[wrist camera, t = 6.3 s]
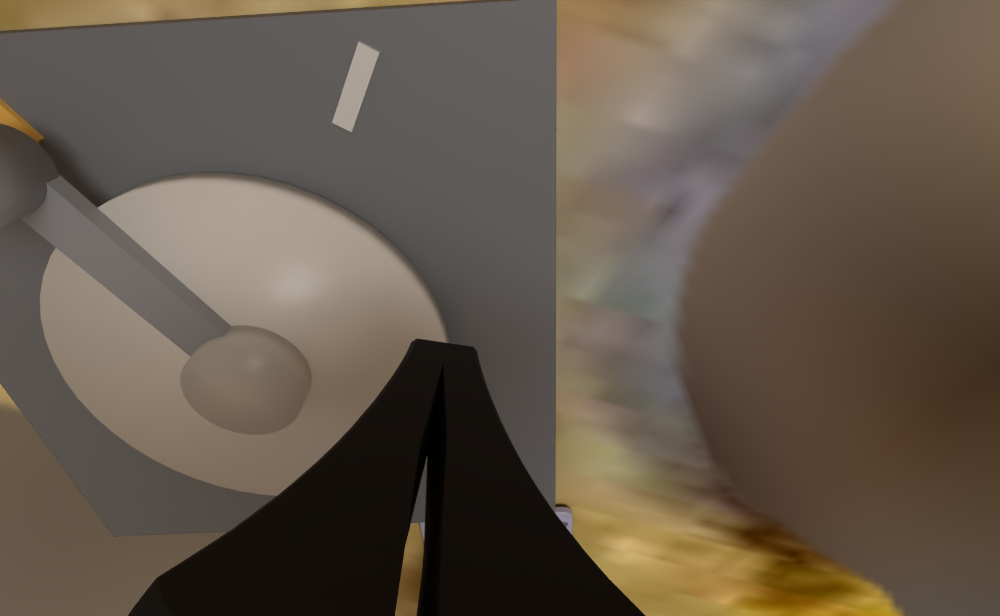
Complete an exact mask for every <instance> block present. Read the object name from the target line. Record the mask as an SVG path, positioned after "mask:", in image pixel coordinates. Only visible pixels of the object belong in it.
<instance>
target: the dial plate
mask: <svg viewBox="0 0 1000 616" xmlns="http://www.w3.org/2000/svg"><path fill="white" fill-rule="evenodd" d="M0 124H4V125H8V126H10V127H13V128H15V129H17V130H20V131H21V132H23V133H25V134H26V135H28V136H29V137H31V138H32V139H33V140H35V141H36V142H37V143H38V144H39V145H40V146H41V147H42V148H43V149H44V150H45V151H46V152H47V154H48V155H49V156H50V158H51V159H52V161H53V163H54V165H55V167H56V169H57V172H58V174H60V175H61V176H62V177H63V178H64V179H65V180H66V181H67V182H69V183H70V184H71V185H72V186H73V187H74V188H75V189H77V190H78V191H79V192H80V193H81V194H82V195H83V196H84V197H86V198H87V199H88V200H89V201H90V202H91V203H92V204H94V205H95V206H96V207H97V208H98V207H99V206H101V205H102V204H104V203H106V202H107V201H109V200H111V199H112V198H114V197H116V196H117V195H119V194H121V193H123V192H125V191H127V190H130V189H132V188H134V187H136V186H139V185H141V184H143V183H146V182H150V181H154V180H157V179H161V178H165V177H168V176H175V175H183V174H191V173H233V174H241V175H249V176H256V177H262V178H266V179H270V180H274V181H277V182H281V183H285V184H289V185H292V186H295V187H298V188H300V189H303V190H306V191H308V192H311V193H313V194H316V195H319V196H321V197H323V198H325V199H327V200H329V201H331V202H333V203H335V204H337V205H339V206H341V207H343V208H345V209H347V210H348V211H350V212H351V213H353V214H354V215H356V216H357V217H359V218H360V219H362V220H363V221H365V222H366V223H368V224H369V225H371V226H372V227H373V228H375V229H376V230H377V231H378V232H379V233H381V234H382V235H383V236H384V237H385V238H387V239H388V240H389V241H390V242H392V243H393V244H394V245H395V246H396V247H397V248H398V249H399V251H400V252H401V253H402V254H403V255H404V256H405V257H406V258H407V259H408V260H409V261H410V262H411V263H412V264H413V266H414V267H415V268H416V270H417V271H418V273H419V274H420V275H421V277H422V278H423V279H424V281H425V282H426V283H427V285H428V287H429V289H430V291H431V292H432V294H433V296H434V298H435V300H436V302H437V303H438V306H439V308H440V311H441V314H442V316H443V319H444V322H445V324H446V329H447V333H448V338H449V343H451V344H458V345H465V346H471V347H474V348H475V350H476V351H477V353H478V358H479V362H480V366H481V370H482V373H483V376H484V379H485V382H486V385H487V388H488V390H489V393H490V396H491V398H492V401H493V403H494V405H495V408H496V410H497V412H498V415H499V417H500V419H501V422H502V424H503V426H504V428H505V430H506V432H507V434H508V436H509V438H510V440H511V442H512V444H513V446H514V448H515V450H516V452H517V454H518V455H519V457H520V459H521V461H522V463H523V464H524V466H525V468H526V469H527V471H528V473H529V474H530V476H531V478H532V479H533V481H534V482H535V484H536V486H537V487H538V489H539V490H540V492H541V493H542V495H543V496H544V498H545V499H546V501H547V502H548V504H549V505H550V506H551V508H552V509H553V511H554V512H555V417H556V0H474V1H459V2H443V3H428V4H412V5H396V6H381V7H365V8H350V9H334V10H319V11H303V12H288V13H272V14H257V15H241V16H226V17H210V18H195V19H179V20H164V21H148V22H133V23H117V24H102V25H86V26H71V27H55V28H40V29H24V30H9V31H0ZM55 248H56V247H55V246H53V245H52V244H51V243H50V242H48V241H47V240H46V239H45V238H44V237H42V236H41V235H40V234H39V233H37V232H36V231H35V230H34V229H32V228H31V227H30V226H29V225H28V224H26V223H25V222H24V221H23V220H21V219H20V218H19V219H17V220H15V221H13V222H11V223H10V224H8V225H6V226H4V227H2V228H0V384H1V385H2V386H3V388H4V389H5V390H6V392H7V393H8V394H9V396H10V397H11V398H12V400H13V401H14V402H15V404H16V405H17V407H18V408H19V409H20V411H21V412H22V413H23V415H24V416H25V417H26V419H27V420H28V421H29V423H30V424H31V425H32V427H33V428H34V429H35V431H36V432H37V433H38V435H39V436H40V438H41V439H42V440H43V442H44V443H45V444H46V446H47V447H48V448H49V450H50V451H51V452H52V453H53V455H54V456H55V458H56V459H57V461H58V462H59V463H60V465H61V466H62V467H63V468H64V470H65V471H66V473H67V474H68V475H69V477H70V478H71V479H72V481H73V482H74V483H75V485H76V486H77V488H78V489H79V490H80V492H81V493H82V494H83V496H84V497H85V498H86V500H87V501H88V502H89V504H90V505H91V506H92V508H93V509H94V510H95V512H96V513H97V515H98V516H99V517H100V519H101V520H102V521H103V523H104V524H105V525H106V526H107V528H108V529H109V531H110V532H111V533H112V535H113V536H115V537H116V536H136V535H156V534H157V535H159V534H181V533H202V532H223V531H230V530H232V529H233V528H234V527H236V526H237V525H238V524H240V523H241V522H242V521H244V520H245V519H247V518H248V517H249V516H251V515H252V514H253V513H255V512H256V511H257V510H259V509H260V508H261V507H263V506H264V505H265V504H267V503H268V502H269V501H271V500H272V499H273V498H275V497H276V496H273V495H261V494H255V493H248V492H242V491H237V490H233V489H229V488H224V487H220V486H216V485H213V484H210V483H207V482H204V481H201V480H198V479H195V478H192V477H190V476H187V475H185V474H183V473H180V472H178V471H175V470H173V469H171V468H169V467H167V466H165V465H163V464H161V463H159V462H157V461H155V460H153V459H151V458H150V457H148V456H146V455H145V454H143V453H141V452H140V451H138V450H137V449H135V448H133V447H132V446H130V445H129V444H128V443H126V442H125V441H123V440H122V439H121V438H119V437H118V436H117V435H115V434H114V433H113V432H111V431H110V430H109V429H108V428H107V427H106V426H105V425H104V424H102V423H101V422H100V421H99V420H98V419H97V418H96V417H95V416H94V415H93V414H92V413H91V412H90V411H89V410H88V409H87V408H86V407H85V406H84V405H83V403H82V402H81V401H80V400H79V399H78V398H77V396H76V395H75V394H74V392H73V391H72V390H71V388H70V387H69V386H68V384H67V383H66V381H65V380H64V378H63V377H62V375H61V373H60V371H59V369H58V368H57V366H56V364H55V362H54V360H53V358H52V355H51V353H50V350H49V348H48V345H47V343H46V340H45V336H44V331H43V327H42V322H41V314H40V292H41V286H42V279H43V275H44V272H45V269H46V267H47V264H48V261H49V259H50V256H51V254H52V253H53V251H54V250H55ZM426 477H427V458H426V462H425V466H424V471H423V475H422V479H421V483H420V487H419V491H418V495H417V499H416V503H415V507H414V512H413V516H412V520H411V523H419V522H425V504H426Z"/></svg>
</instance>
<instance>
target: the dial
mask: <svg viewBox="0 0 1000 616" xmlns="http://www.w3.org/2000/svg"><path fill="white" fill-rule="evenodd" d="M19 218H20V219H21V220H23V221H24V222H25V223H26V224H28V225H29V226H30V227H31V228H32V229H34V230H35V231H36V232H37V233H39V234H40V235H41V236H42V237H44V238H45V239H46V240H47V241H48V242H50V243H51V244H52V245H53V246H55V247H56V248H55V250H54V251H53V253H52V254H51V256H50V259H49V261H48V264H47V267H46V269H45V272H44V275H43V279H42V286H41V292H40V314H41V322H42V327H43V331H44V336H45V340H46V343H47V345H48V348H49V350H50V353H51V355H52V358H53V360H54V362H55V364H56V366H57V368H58V369H59V371H60V373H61V375H62V377H63V378H64V380H65V381H66V383H67V384H68V386H69V387H70V388H71V390H72V391H73V392H74V394H75V395H76V396H77V398H78V399H79V400H80V401H81V402H82V403H83V405H84V406H85V407H86V408H87V409H88V410H89V411H90V412H91V413H92V414H93V415H94V416H95V417H96V418H97V419H98V420H99V421H100V422H101V423H102V424H104V425H105V426H106V427H107V428H108V429H109V430H110V431H111V432H113V433H114V434H115V435H117V436H118V437H119V438H121V439H122V440H123V441H125V442H126V443H128V444H129V445H130V446H132V447H133V448H135V449H137V450H138V451H140V452H141V453H143V454H145V455H146V456H148V457H150V458H151V459H153V460H155V461H157V462H159V463H161V464H163V465H165V466H167V467H169V468H171V469H173V470H175V471H178V472H180V473H183V474H185V475H187V476H190V477H192V478H195V479H198V480H201V481H204V482H207V483H210V484H213V485H216V486H220V487H224V488H229V489H233V490H237V491H242V492H248V493H255V494H261V495H273V496H277V495H279V494H280V493H281V492H282V491H284V490H285V489H286V488H287V487H288V486H290V485H291V484H292V483H293V482H294V481H295V480H297V479H298V478H299V477H300V476H301V475H302V474H303V473H305V472H306V471H307V470H308V469H309V468H310V467H311V466H313V465H314V464H315V463H316V462H317V461H318V460H319V459H320V458H321V457H322V456H323V455H324V454H325V453H326V452H328V451H329V450H330V449H331V448H332V447H333V446H334V445H335V444H336V443H337V442H338V441H339V440H340V439H341V438H342V437H343V435H344V434H345V433H346V432H347V431H348V430H349V429H350V428H351V427H352V426H353V425H354V423H355V422H356V421H357V420H358V419H359V418H360V416H361V415H362V414H363V413H364V412H365V411H366V409H367V408H368V407H369V406H370V405H371V404H372V402H373V401H374V400H375V399H376V397H377V396H378V395H379V393H380V392H381V391H382V389H383V388H384V387H385V385H386V384H387V383H388V381H389V380H390V378H391V377H392V376H393V374H394V373H395V371H396V370H397V368H398V366H399V365H400V363H401V362H402V360H403V358H404V356H405V355H406V353H407V351H408V349H409V346H410V344H411V342H412V341H414V340H415V339H424V340H431V341H438V342H444V343H449V338H448V333H447V329H446V324H445V322H444V319H443V316H442V314H441V311H440V308H439V306H438V303H437V302H436V300H435V298H434V296H433V294H432V292H431V291H430V289H429V287H428V285H427V283H426V282H425V281H424V279H423V278H422V277H421V275H420V274H419V273H418V271H417V270H416V268H415V267H414V266H413V264H412V263H411V262H410V261H409V260H408V259H407V258H406V257H405V256H404V255H403V254H402V253H401V252H400V251H399V249H398V248H397V247H396V246H395V245H394V244H393V243H392V242H390V241H389V240H388V239H387V238H385V237H384V236H383V235H382V234H381V233H379V232H378V231H377V230H376V229H375V228H373V227H372V226H371V225H369V224H368V223H366V222H365V221H363V220H362V219H360V218H359V217H357V216H356V215H354V214H353V213H351V212H350V211H348V210H347V209H345V208H343V207H341V206H339V205H337V204H335V203H333V202H331V201H329V200H327V199H325V198H323V197H321V196H319V195H316V194H313V193H311V192H308V191H306V190H303V189H300V188H298V187H295V186H292V185H289V184H285V183H281V182H277V181H274V180H270V179H266V178H262V177H256V176H249V175H241V174H233V173H191V174H183V175H175V176H168V177H165V178H161V179H157V180H154V181H150V182H146V183H143V184H141V185H139V186H136V187H134V188H132V189H130V190H127V191H125V192H123V193H121V194H119V195H117V196H116V197H114V198H112V199H111V200H109V201H107V202H106V203H104V204H102V205H101V206H99V207H98V208H97V207H96V206H95V205H94V204H92V203H91V202H90V201H89V200H88V199H87V198H86V197H84V196H83V195H82V194H81V193H80V192H79V191H78V190H77V189H75V188H74V187H73V186H72V185H71V184H70V183H69V182H67V181H66V180H65V179H64V178H63V177H62V176H61V175H60V174H58V172H57V169H56V167H55V165H54V163H53V161H52V159H51V158H50V156H49V155H48V154H47V152H46V151H45V150H44V149H43V148H42V147H41V146H40V145H39V144H38V143H37V142H36V141H35V140H33V139H32V138H31V137H29V136H28V135H26V134H25V133H23V132H21V131H20V130H17V129H15V128H13V127H10V126H8V125H4V124H0V228H2V227H4V226H6V225H8V224H10V223H11V222H13V221H15V220H17V219H19Z"/></svg>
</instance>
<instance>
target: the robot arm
mask: <svg viewBox="0 0 1000 616" xmlns="http://www.w3.org/2000/svg"><path fill="white" fill-rule="evenodd" d="M426 458H427V477H426V504H425V522H420V528H421V533H422V537H423V542H424V555H423V568H422V578H421V586H420V594H419V601H418V609H417V616H645V615H644V614H643V613H642V612H641V611H640V610H639V609H638V608H637V607H636V606H635V605H634V604H633V603H632V602H631V601H630V600H629V599H628V598H627V597H626V596H625V595H624V594H623V593H622V592H621V591H620V590H619V589H618V588H617V587H616V586H615V585H614V584H613V583H612V582H611V581H610V580H609V579H608V577H607V576H606V575H605V574H604V573H603V572H602V571H601V569H600V568H599V567H598V566H597V565H596V564H595V562H594V561H593V560H592V559H591V558H590V557H589V556H588V554H587V553H586V552H585V551H584V550H583V548H582V547H581V546H580V544H579V543H578V542H577V541H576V539H575V538H574V537H573V535H572V521H573V517H572V511H571V510H570V509H569V508H567V507H555V512H554V511H553V509H552V508H551V506H550V505H549V504H548V502H547V501H546V499H545V498H544V496H543V495H542V493H541V492H540V490H539V489H538V487H537V486H536V484H535V482H534V481H533V479H532V478H531V476H530V474H529V473H528V471H527V469H526V468H525V466H524V464H523V463H522V461H521V459H520V457H519V455H518V454H517V452H516V450H515V448H514V446H513V444H512V442H511V440H510V438H509V436H508V434H507V432H506V430H505V428H504V426H503V424H502V422H501V419H500V417H499V415H498V412H497V410H496V408H495V405H494V403H493V401H492V398H491V396H490V393H489V390H488V388H487V385H486V382H485V379H484V376H483V373H482V370H481V366H480V362H479V358H478V353H477V351H476V350H475V348H474V347H471V346H465V345H458V344H451V343H444V342H438V341H431V340H424V339H415V340H414V341H412V342H411V344H410V346H409V349H408V351H407V353H406V355H405V356H404V358H403V360H402V362H401V363H400V365H399V366H398V368H397V370H396V371H395V373H394V374H393V376H392V377H391V378H390V380H389V381H388V383H387V384H386V385H385V387H384V388H383V389H382V391H381V392H380V393H379V395H378V396H377V397H376V399H375V400H374V401H373V402H372V404H371V405H370V406H369V407H368V408H367V409H366V411H365V412H364V413H363V414H362V415H361V416H360V418H359V419H358V420H357V421H356V422H355V423H354V425H353V426H352V427H351V428H350V429H349V430H348V431H347V432H346V433H345V434H344V435H343V437H342V438H341V439H340V440H339V441H338V442H337V443H336V444H335V445H334V446H333V447H332V448H331V449H330V450H329V451H328V452H326V453H325V454H324V455H323V456H322V457H321V458H320V459H319V460H318V461H317V462H316V463H315V464H314V465H313V466H311V467H310V468H309V469H308V470H307V471H306V472H305V473H303V474H302V475H301V476H300V477H299V478H298V479H297V480H295V481H294V482H293V483H292V484H291V485H290V486H288V487H287V488H286V489H285V490H284V491H282V492H281V493H280V494H279V495H277V496H276V497H275V498H273V499H272V500H271V501H269V502H268V503H267V504H265V505H264V506H263V507H261V508H260V509H259V510H257V511H256V512H255V513H253V514H252V515H251V516H249V517H248V518H247V519H245V520H244V521H242V522H241V523H240V524H238V525H237V526H236V527H234V528H233V529H232V530H230V531H229V532H227V533H226V534H224V535H223V536H221V537H220V538H219V539H217V540H215V541H214V542H212V543H211V544H209V545H208V546H206V547H204V548H203V549H201V550H200V551H198V552H197V553H195V554H194V555H192V556H190V557H189V558H187V559H186V560H184V561H183V562H181V563H180V564H178V565H176V566H175V567H173V568H172V569H170V570H169V571H167V572H165V573H164V574H162V575H160V576H159V577H157V578H156V580H155V581H154V582H153V583H152V584H151V586H150V587H149V588H148V590H147V591H146V592H145V593H144V595H143V596H142V597H141V598H140V600H139V601H138V602H137V604H136V605H135V606H134V608H133V609H132V611H131V612H130V613H129V615H128V616H395V610H396V603H397V597H398V590H399V583H400V576H401V569H402V563H403V556H404V549H405V544H406V540H407V536H408V532H409V528H410V524H411V520H412V516H413V512H414V507H415V503H416V499H417V495H418V491H419V487H420V483H421V479H422V475H423V471H424V466H425V462H426Z"/></svg>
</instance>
